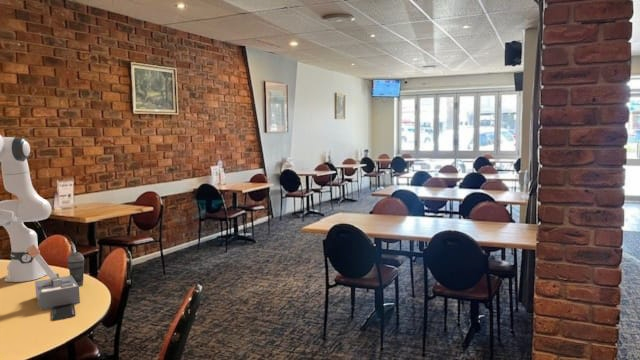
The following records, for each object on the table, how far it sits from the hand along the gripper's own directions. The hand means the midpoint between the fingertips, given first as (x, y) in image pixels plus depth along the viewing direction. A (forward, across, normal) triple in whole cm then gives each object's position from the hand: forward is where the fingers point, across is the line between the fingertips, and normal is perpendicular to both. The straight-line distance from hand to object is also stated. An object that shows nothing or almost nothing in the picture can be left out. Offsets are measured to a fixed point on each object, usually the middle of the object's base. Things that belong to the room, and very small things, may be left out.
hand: (16, 222), depth 191 cm
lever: (+19, -1, +21) cm, 29 cm away
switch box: (+22, 0, +29) cm, 37 cm away
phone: (+18, -16, +35) cm, 43 cm away
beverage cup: (+35, +13, +21) cm, 43 cm away
